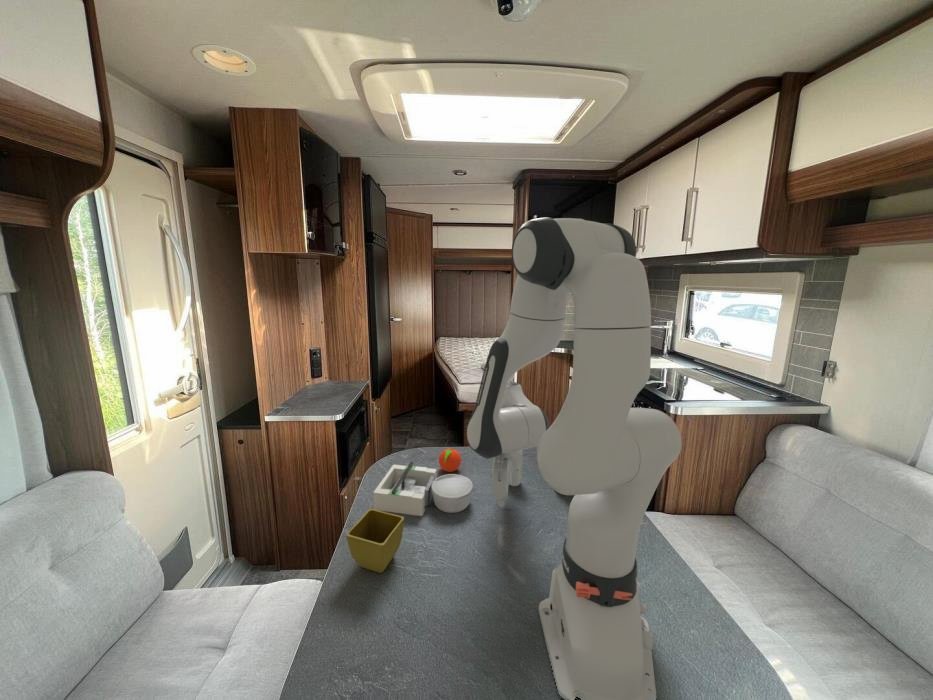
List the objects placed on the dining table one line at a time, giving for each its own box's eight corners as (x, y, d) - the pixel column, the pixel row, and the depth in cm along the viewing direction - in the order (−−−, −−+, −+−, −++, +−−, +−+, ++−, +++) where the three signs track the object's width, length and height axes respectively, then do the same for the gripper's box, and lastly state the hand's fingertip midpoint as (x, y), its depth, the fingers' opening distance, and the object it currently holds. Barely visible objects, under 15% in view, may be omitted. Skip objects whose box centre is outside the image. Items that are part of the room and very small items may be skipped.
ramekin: (457, 485, 105) (457, 469, 104) (481, 506, 96) (481, 488, 95) (423, 499, 99) (423, 481, 98) (445, 522, 90) (445, 503, 89)
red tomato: (455, 480, 108) (455, 458, 106) (434, 475, 110) (433, 454, 108) (464, 466, 115) (464, 445, 114) (443, 462, 117) (443, 442, 116)
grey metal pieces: (423, 516, 91) (423, 495, 90) (384, 511, 93) (383, 490, 92) (438, 483, 106) (438, 464, 104) (404, 479, 107) (403, 460, 106)
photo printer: (523, 484, 106) (525, 445, 103) (511, 488, 104) (513, 448, 101) (504, 467, 115) (505, 431, 112) (492, 471, 113) (493, 434, 110)
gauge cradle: (422, 516, 92) (422, 497, 91) (374, 509, 94) (373, 491, 93) (436, 484, 105) (436, 468, 104) (393, 479, 107) (393, 463, 106)
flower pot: (384, 584, 72) (383, 545, 70) (347, 572, 75) (344, 534, 73) (405, 552, 80) (404, 516, 78) (371, 542, 83) (369, 507, 81)
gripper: (513, 465, 80) (512, 521, 83) (517, 429, 100) (516, 474, 103) (485, 463, 82) (484, 518, 84) (495, 427, 101) (494, 472, 104)
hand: (502, 494), depth 94 cm, fingers open, 8 cm apart
